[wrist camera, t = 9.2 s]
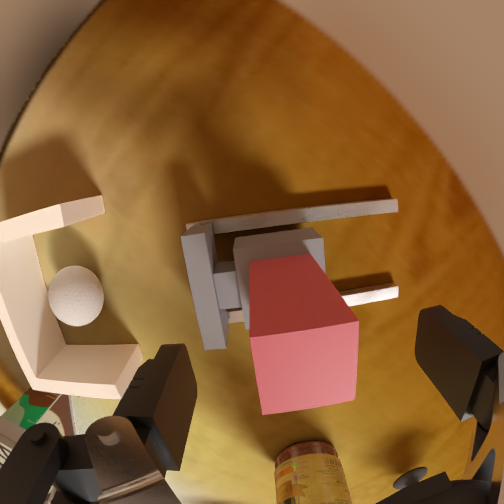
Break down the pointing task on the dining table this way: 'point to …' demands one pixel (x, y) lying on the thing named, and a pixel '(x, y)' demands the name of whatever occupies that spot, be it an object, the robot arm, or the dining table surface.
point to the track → (310, 215)
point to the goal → (44, 320)
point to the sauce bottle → (310, 475)
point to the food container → (35, 420)
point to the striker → (278, 314)
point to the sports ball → (75, 295)
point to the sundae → (410, 478)
